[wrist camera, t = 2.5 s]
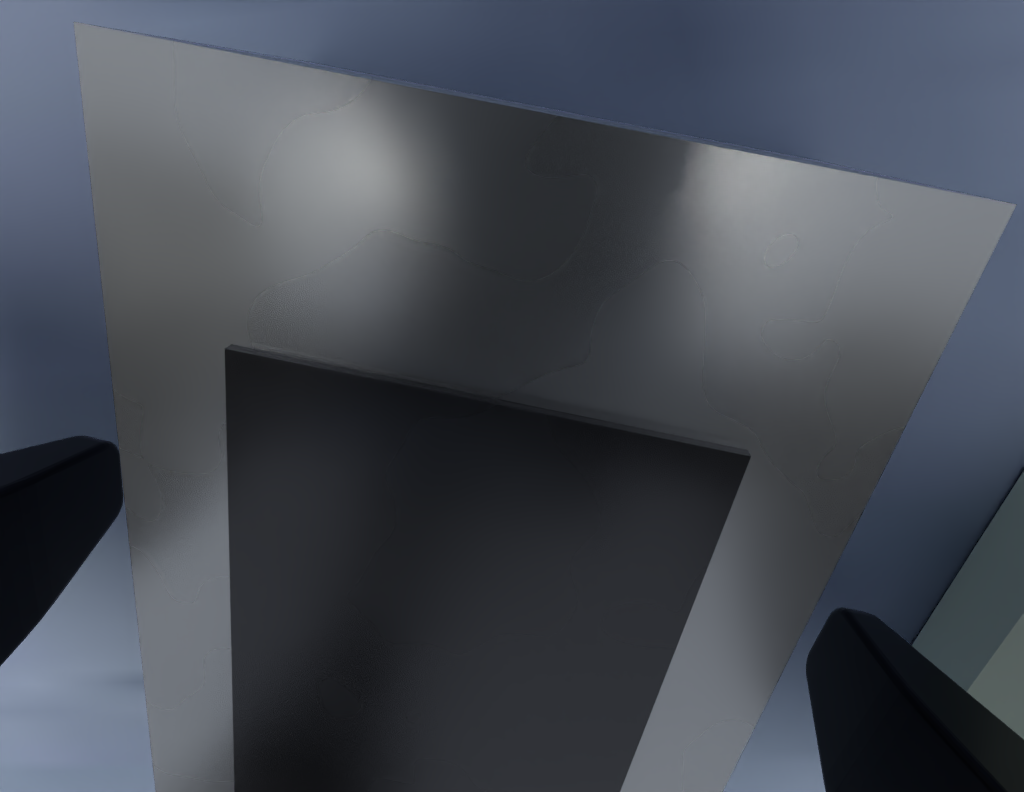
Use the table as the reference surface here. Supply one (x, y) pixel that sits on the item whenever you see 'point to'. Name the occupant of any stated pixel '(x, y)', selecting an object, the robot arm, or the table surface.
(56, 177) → the table surface
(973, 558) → the peg board
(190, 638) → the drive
